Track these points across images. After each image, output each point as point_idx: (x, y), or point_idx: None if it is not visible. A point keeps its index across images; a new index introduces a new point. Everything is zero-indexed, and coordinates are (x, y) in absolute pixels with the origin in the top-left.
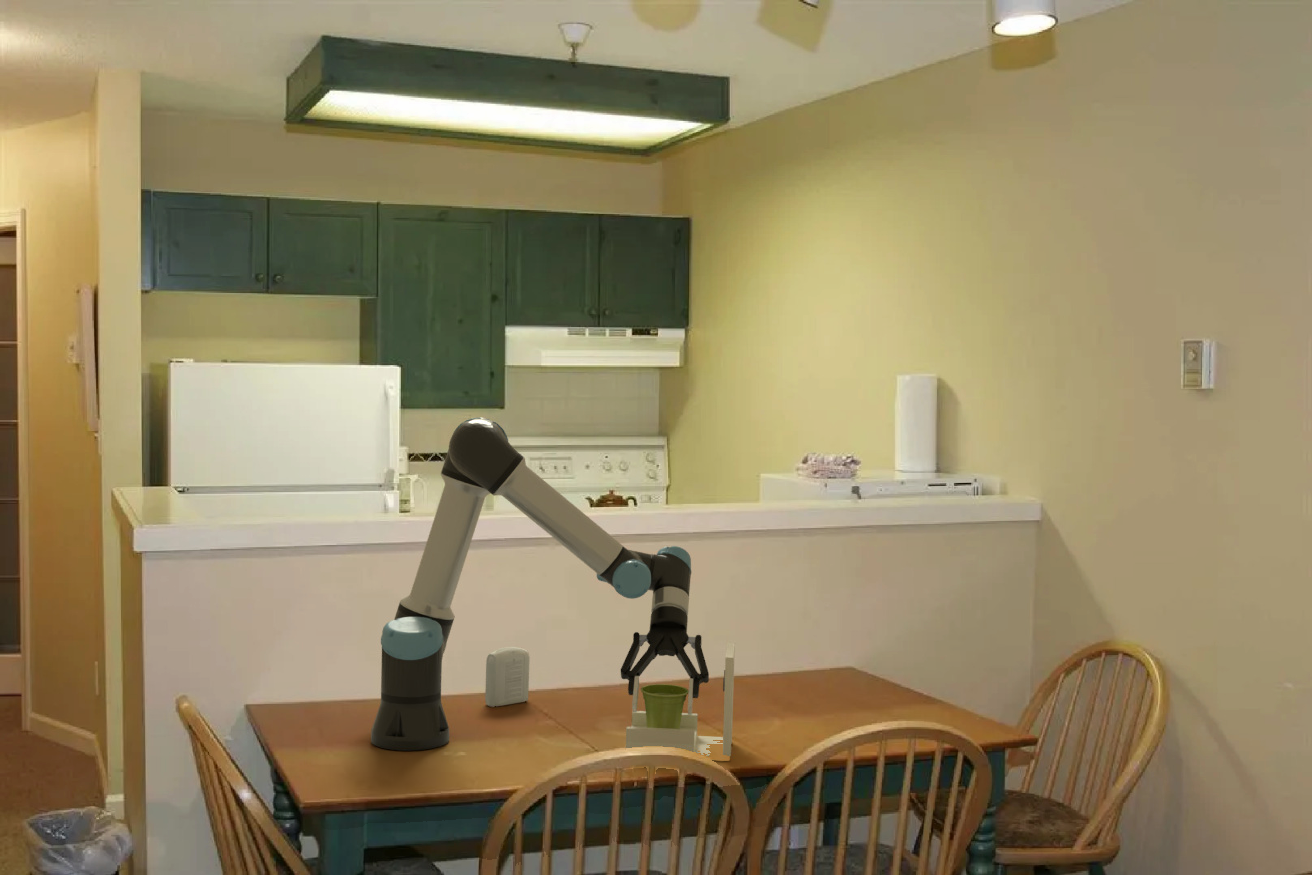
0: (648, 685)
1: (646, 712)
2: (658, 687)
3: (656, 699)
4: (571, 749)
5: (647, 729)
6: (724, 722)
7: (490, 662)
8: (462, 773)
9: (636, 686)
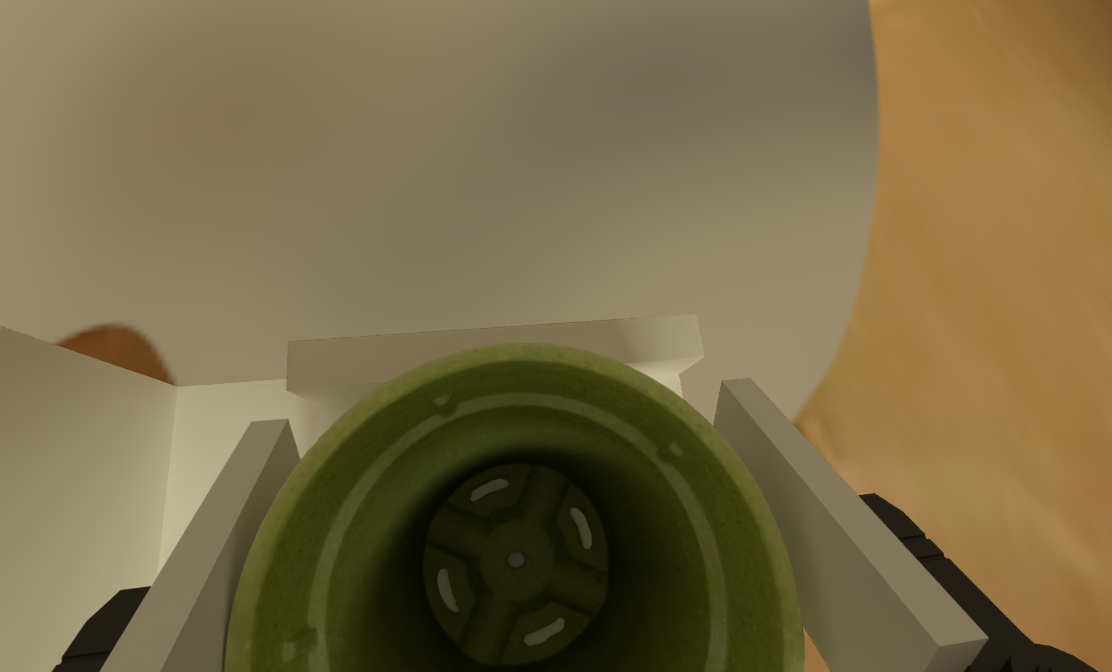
0: None
1: (641, 503)
2: None
3: (570, 383)
4: (892, 414)
5: (578, 323)
6: (14, 334)
7: None
8: (1054, 76)
9: (839, 507)
